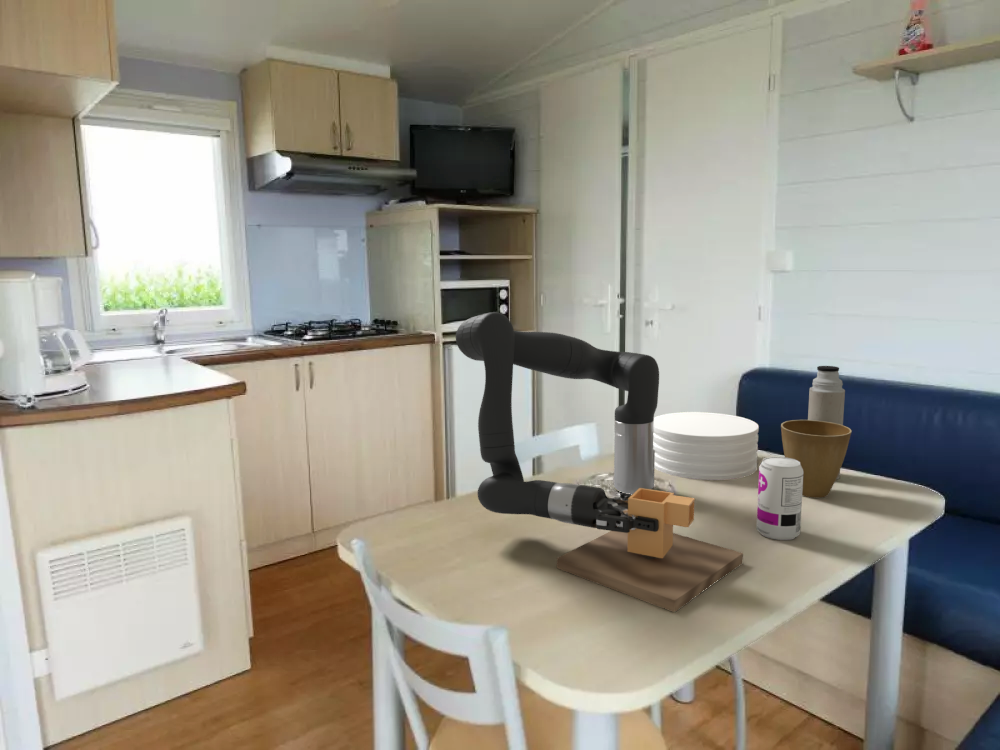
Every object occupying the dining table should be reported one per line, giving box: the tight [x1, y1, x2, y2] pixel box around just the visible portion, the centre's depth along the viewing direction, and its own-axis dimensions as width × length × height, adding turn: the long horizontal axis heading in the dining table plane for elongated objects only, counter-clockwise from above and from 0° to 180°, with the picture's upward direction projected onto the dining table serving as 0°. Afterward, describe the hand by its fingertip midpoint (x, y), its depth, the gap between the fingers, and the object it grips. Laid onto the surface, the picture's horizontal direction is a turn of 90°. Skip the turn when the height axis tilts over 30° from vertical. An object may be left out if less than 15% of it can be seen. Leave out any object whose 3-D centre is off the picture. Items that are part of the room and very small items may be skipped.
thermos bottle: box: [807, 365, 846, 480], centre depth 174 cm, size 8×8×28 cm
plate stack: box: [653, 411, 760, 481], centre depth 188 cm, size 28×28×12 cm
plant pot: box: [780, 419, 852, 499], centre depth 162 cm, size 15×15×16 cm
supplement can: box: [756, 456, 803, 541], centre depth 139 cm, size 8×8×15 cm
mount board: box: [556, 531, 744, 613], centre depth 127 cm, size 24×24×2 cm
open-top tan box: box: [627, 488, 696, 558], centre depth 124 cm, size 10×6×10 cm, turn 61°
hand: (663, 519), depth 124 cm, fingers closed on open-top tan box, 6 cm apart
